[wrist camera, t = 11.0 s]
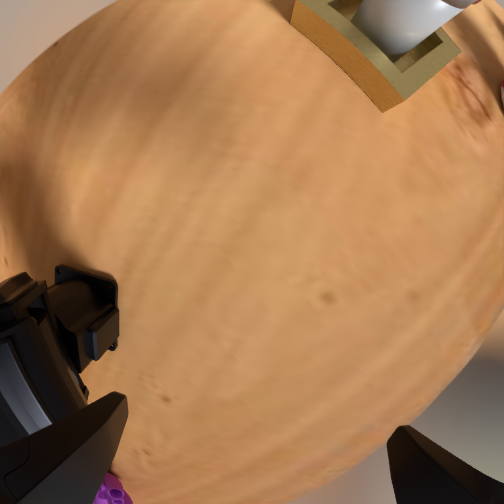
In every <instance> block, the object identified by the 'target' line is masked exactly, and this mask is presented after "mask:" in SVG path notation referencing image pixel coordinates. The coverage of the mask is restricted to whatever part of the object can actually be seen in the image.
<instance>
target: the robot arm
mask: <svg viewBox="0 0 504 504" xmlns="http://www.w3.org/2000/svg"><path fill="white" fill-rule="evenodd" d="M59 269H60V271H61V272H60V271H59ZM110 285H112V287H113V289H111V288H110ZM117 300H118V285H117V283H116V282H115V281H113V280H110V279H106V278H103V277H100V276H96V275H93V274H90V273H86V272H83V271H80V270H77V269H73V268H70V267H67V266H64V265H58V266H56V267H55V284H54V285H52V286H50V287H48V288H47V284H46V281H45V280H43V281H33V279H32V278H31V277H30V276H29V275H28V274H27V273H26V272H23V273H19V274H17V275H15V276H13V277H10V278H8V279H6V280H4V281H3V282H1V283H0V504H93V502H94V499H95V497H96V495H97V493H98V491H99V489H100V486H101V484H102V482H103V480H104V478H105V476H106V474H107V472H108V470H109V467H110V465H111V463H112V461H113V459H114V457H115V454H116V451H117V448H118V445H119V442H120V439H121V436H122V433H123V430H124V427H125V424H126V421H127V418H128V404H127V397H126V395H124V394H121V393H119V392H116V391H114V392H111V393H109V394H107V395H106V396H104V397H102V398H100V399H98V400H96V401H95V402H93V403H91V404H89V405H88V404H87V400H88V395H89V391H88V389H87V387H86V386H85V385H84V383H83V382H82V379H81V377H80V375H79V373H82V372H83V370H84V369H85V368H86V367H87V366H88V365H89V363H90V362H91V361H92V360H94V361H97V360H99V359H100V358H101V357H102V355H103V354H104V353H105V352H106V351H107V350H110V351H115V349H116V348H117V346H118V344H117V338H118V336H119V309H118V307H117ZM111 345H113V346H111ZM387 451H388V458H389V466H390V474H391V480H392V484H393V488H394V493H395V497H396V502H397V504H504V483H502V482H499V481H497V480H495V479H493V478H491V477H489V476H487V475H485V474H483V473H482V472H480V471H478V470H477V469H475V468H473V467H472V466H470V465H468V464H467V463H465V462H464V461H462V460H461V459H459V458H458V457H456V456H454V455H453V454H451V453H450V452H448V451H447V450H445V449H444V448H442V447H441V446H439V445H437V444H436V443H435V442H433V441H432V440H430V439H429V438H427V437H426V436H424V435H423V434H421V433H420V432H418V431H417V430H415V429H414V428H413V427H411V426H410V425H402V426H399V427H397V428H396V430H395V431H394V433H393V434H392V435H391V437H390V438H389V439H388V441H387Z"/></svg>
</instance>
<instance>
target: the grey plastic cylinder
mask: <svg viewBox="0 0 504 504" xmlns="http://www.w3.org/2000/svg"><path fill="white" fill-rule="evenodd" d="M475 1H477V0H363V2H362V3H361V5H360V7H359V8H358V10H357V11H356V13H355V15H354V16H353V18H352V20H351V23H352V24H353V25H354V26H355V27H356V28H358V29H359V30H360V31H361V32H362V33H363V34H364V35H365V36H366V37H367V38H368V39H370V40H371V41H372V42H373V43H374V44H375V45H376V46H377V47H378V48H379V49H380V50H381V51H382V52H383V53H384V54H385V55H386V56H387V57H388V59H389V60H397V59H400V58H401V57H403V56H404V55H405V54H406V53H408V52H409V51H410V50H411V49H413V48H414V47H415V46H416V45H418V44H419V43H420V42H421V41H423V40H424V39H425V38H426V37H428V36H429V35H430V34H432V33H433V32H434V31H436V30H437V29H438V28H439V27H441V26H442V25H443V24H445V23H446V22H447V21H449V20H450V19H451V18H453V17H454V16H456V15H457V14H458V13H460V12H461V11H462V10H464V9H465V8H467V7H468V6H469V5H471V4H472V3H474V2H475Z"/></svg>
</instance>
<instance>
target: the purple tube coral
mask: <svg viewBox="0 0 504 504" xmlns="http://www.w3.org/2000/svg"><path fill="white" fill-rule="evenodd" d="M107 501H108V504H133V502H132V500H131V498H130V497H129V495H128V494H127V493H126V492H125V490H124V489H123V486H122V484H121V482H120V481H119V480H118V479H117V478H116V477H115V476H113V475H112V474H110V473H107V474H106V476H105V478H104V480H103V482H102V484H101V486H100V489H99V491H98V493H97V495H96V497H95V499H94V502H93V503H94V504H107Z"/></svg>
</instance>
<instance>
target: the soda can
mask: <svg viewBox="0 0 504 504" xmlns="http://www.w3.org/2000/svg"><path fill="white" fill-rule="evenodd" d="M501 99H502V104H503V107H504V80H503V81H502V83H501Z"/></svg>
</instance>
